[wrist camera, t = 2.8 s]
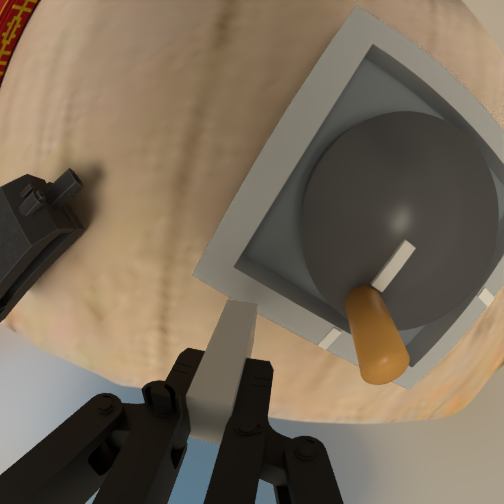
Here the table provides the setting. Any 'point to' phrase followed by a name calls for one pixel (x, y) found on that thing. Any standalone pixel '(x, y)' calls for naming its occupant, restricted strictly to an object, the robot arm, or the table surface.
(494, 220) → the crank dial
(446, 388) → the table surface
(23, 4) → the book
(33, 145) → the table surface
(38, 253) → the tool
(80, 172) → the table surface
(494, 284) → the square crank box
